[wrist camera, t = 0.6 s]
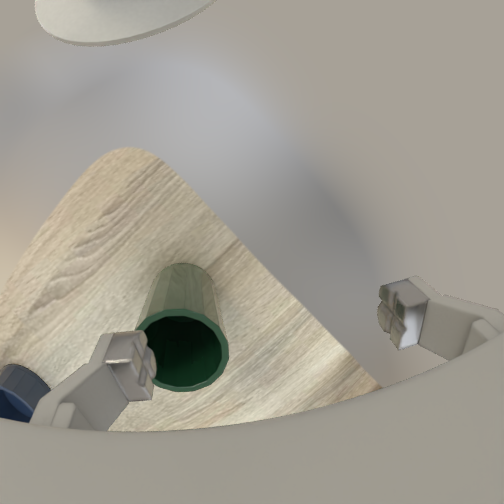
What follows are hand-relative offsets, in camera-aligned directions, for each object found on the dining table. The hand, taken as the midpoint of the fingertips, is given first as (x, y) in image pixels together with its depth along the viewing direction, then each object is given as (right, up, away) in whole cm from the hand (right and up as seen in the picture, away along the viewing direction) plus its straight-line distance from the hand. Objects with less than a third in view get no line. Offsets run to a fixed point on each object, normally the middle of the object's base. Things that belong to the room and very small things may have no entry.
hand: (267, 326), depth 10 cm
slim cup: (-8, -2, +21) cm, 23 cm away
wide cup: (-32, -18, +20) cm, 42 cm away
